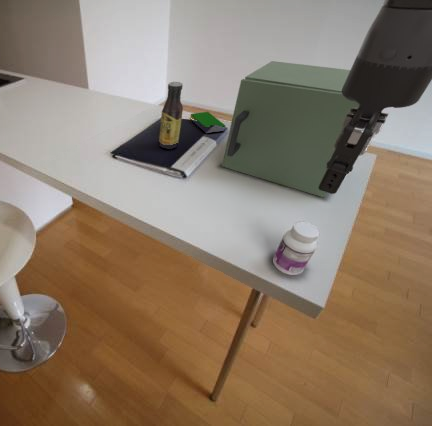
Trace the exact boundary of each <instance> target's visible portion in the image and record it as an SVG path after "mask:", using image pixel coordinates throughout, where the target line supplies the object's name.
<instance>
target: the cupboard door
mask: <svg viewBox="0 0 432 426" xmlns="http://www.w3.org/2000/svg"><path fill="white" fill-rule="evenodd" d="M234 105H235V106H234V109H233V114H232V119H231V122H230V127H229V132H228V136H227V140H226V145H225V149H224V154H223V158H222V161H221V162H222V163H221V167H223V168H225V169H228V170H232V171H236V172H239V173H241V174H246V175H248V176H252V177H254V178H258V179H262V180H265V181H269V182H272V183H274V184H278V185H280V186H285V187H288V188H290V189H291V188H292V189H293V190H297V191H301V192H305V193H308V194H311V195H314V196H318V197H321V198H325V197H326V195H327V194H328V192H324V191H321V190H319V188H318V187H319V185H320V183H321V181H322V179H323V177H324V175H325V173H326V171H327V169H328V168H326V167H327V163H328V161H329V160H330V159H331V157H332V155H333V153H334V151H335V149H334V148H333V147H334V143H335V142H336V140H337V138H338V136H339V134H340V132H341V130H342V123H343V121H344V119H345V117H346V115H347V114H348V113H349V112H350V110H351V108H352V107H353V108H359V103H357V102H356V101H351V100H349V99H347V98H345V97H344V96H343V94H342V93H339V92H332V91H325V90H318V89H311V88H304V87H296V86H289V85H282V84H275V83H268V82H261V81H254V80H246V79H245V78H242V79H241V80H240V83H239V88H238V93H237V96H236V100H235V104H234Z"/></svg>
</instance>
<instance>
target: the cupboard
mask: <svg viewBox="0 0 432 426" xmlns="http://www.w3.org/2000/svg"><path fill="white" fill-rule="evenodd" d="M350 70H351V69H345V68H337V67H329V66H328V67H327V66H318V65H310V64H301V63H294V62H293V63H292V62H283V61H274V60H271V61H270V62H268V63H266V64H265V65H263V66H261V67H260V68H258V69H256V70H255V71H253V72H251V73H249V74H247V75H245V77H244V79H246V80H254V81H261V82H268V83H275V84H282V85H289V86H296V87H304V88H311V89H318V90H325V91H332V92H339V93H342V88H343V86H344V84H345V81H346V79H347V77H348V75H349V72H350Z"/></svg>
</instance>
